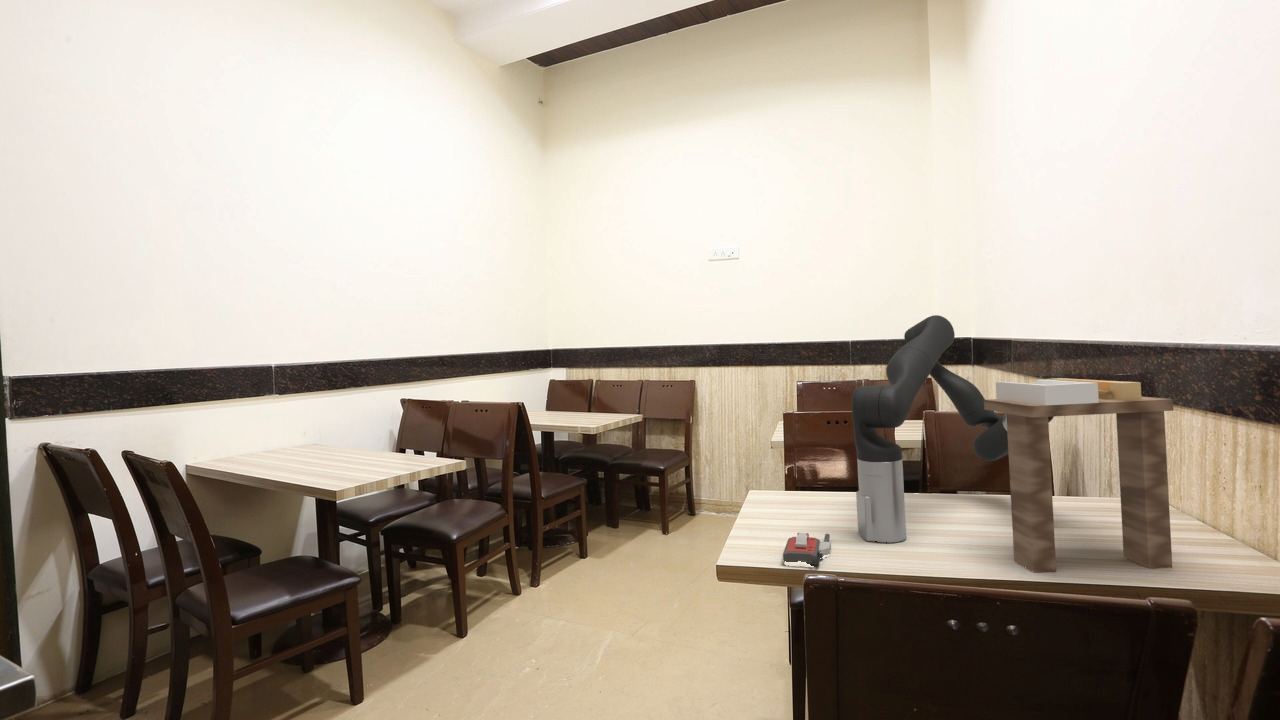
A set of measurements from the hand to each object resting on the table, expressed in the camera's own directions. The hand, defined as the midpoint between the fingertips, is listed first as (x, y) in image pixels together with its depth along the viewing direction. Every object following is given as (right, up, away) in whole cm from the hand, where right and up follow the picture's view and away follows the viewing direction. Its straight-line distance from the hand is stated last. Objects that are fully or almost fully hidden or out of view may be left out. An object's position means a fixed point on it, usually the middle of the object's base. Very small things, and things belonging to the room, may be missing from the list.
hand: (1065, 383), depth 127 cm
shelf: (-6, -32, -12) cm, 35 cm away
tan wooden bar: (0, -2, -7) cm, 7 cm away
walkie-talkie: (-53, -36, -1) cm, 64 cm away
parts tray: (-12, -3, -12) cm, 18 cm away
